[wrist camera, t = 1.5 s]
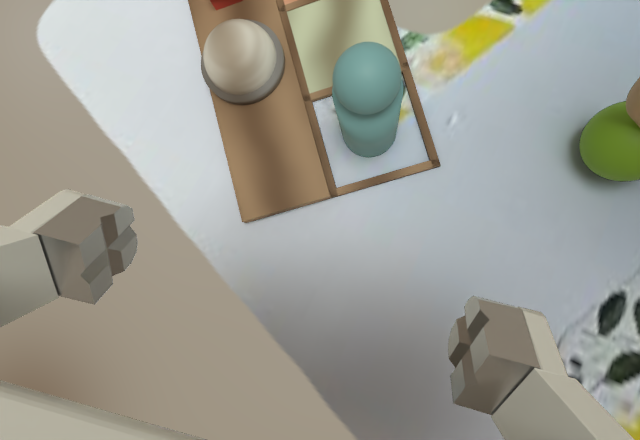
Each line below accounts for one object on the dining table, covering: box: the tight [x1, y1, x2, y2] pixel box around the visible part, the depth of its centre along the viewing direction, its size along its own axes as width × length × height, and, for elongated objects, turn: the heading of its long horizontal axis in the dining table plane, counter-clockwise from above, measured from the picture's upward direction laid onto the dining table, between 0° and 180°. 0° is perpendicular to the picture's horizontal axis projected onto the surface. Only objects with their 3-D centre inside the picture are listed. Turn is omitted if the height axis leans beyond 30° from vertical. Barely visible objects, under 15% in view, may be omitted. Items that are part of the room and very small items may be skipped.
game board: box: [188, 0, 440, 223], centre depth 32 cm, size 16×26×6 cm, turn 15°
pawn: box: [332, 42, 403, 157], centre depth 26 cm, size 4×4×12 cm
